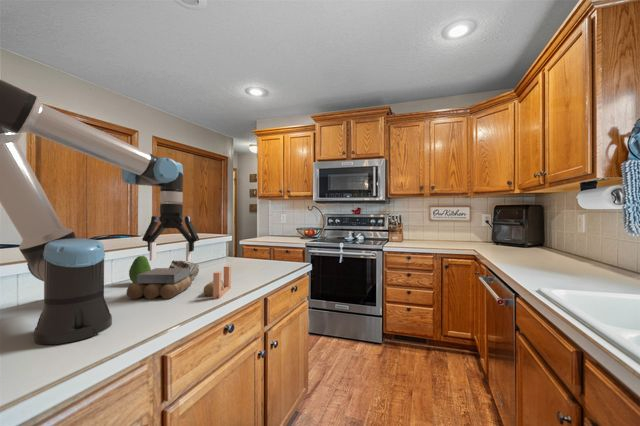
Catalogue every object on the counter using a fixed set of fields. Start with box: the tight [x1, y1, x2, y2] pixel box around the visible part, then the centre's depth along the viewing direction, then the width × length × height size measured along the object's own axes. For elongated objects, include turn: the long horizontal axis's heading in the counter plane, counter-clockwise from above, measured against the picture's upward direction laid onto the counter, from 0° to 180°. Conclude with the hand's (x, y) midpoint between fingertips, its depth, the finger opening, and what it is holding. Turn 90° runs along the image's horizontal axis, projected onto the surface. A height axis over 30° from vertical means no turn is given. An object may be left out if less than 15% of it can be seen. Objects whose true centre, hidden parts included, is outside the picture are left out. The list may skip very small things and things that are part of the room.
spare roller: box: [203, 279, 224, 297], centre depth 106 cm, size 8×5×5 cm
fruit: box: [128, 255, 152, 285], centre depth 119 cm, size 8×8×12 cm
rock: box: [168, 259, 200, 282], centre depth 125 cm, size 18×10×10 cm, turn 6°
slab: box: [137, 267, 189, 283], centre depth 106 cm, size 12×13×3 cm
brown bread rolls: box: [126, 277, 193, 300], centre depth 106 cm, size 14×16×5 cm
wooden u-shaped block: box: [212, 265, 232, 300], centre depth 106 cm, size 14×2×9 cm, turn 1°
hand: (170, 260), depth 106 cm, fingers open, 13 cm apart
